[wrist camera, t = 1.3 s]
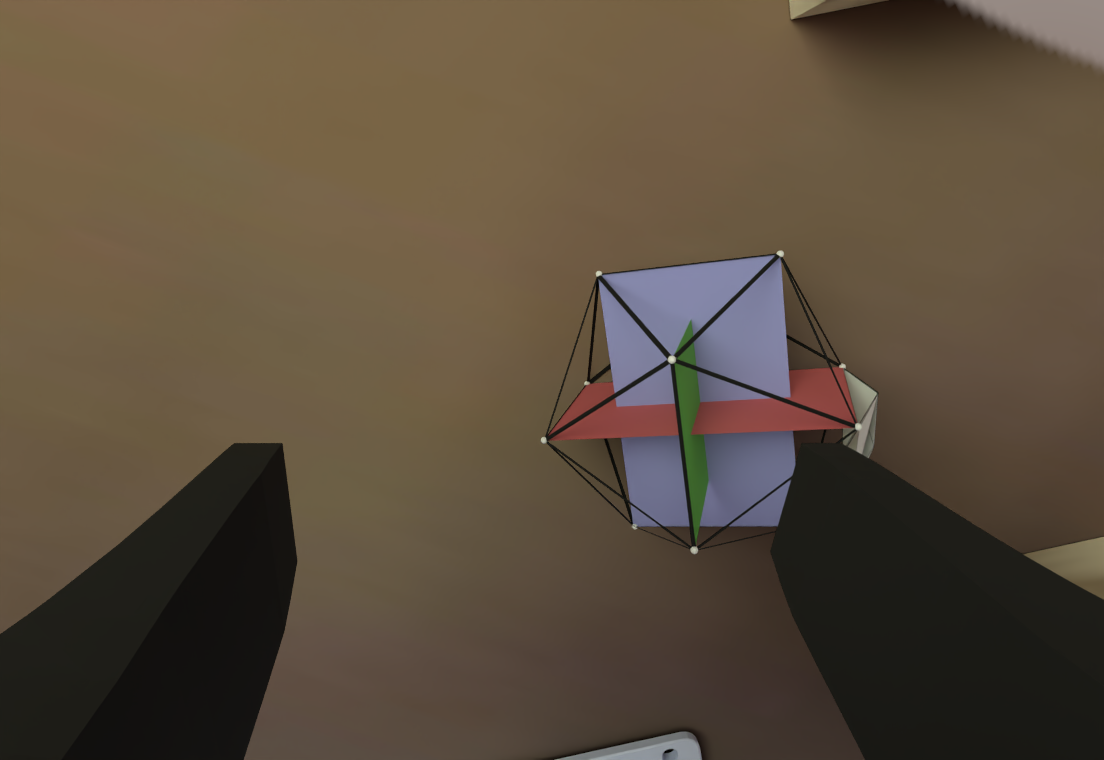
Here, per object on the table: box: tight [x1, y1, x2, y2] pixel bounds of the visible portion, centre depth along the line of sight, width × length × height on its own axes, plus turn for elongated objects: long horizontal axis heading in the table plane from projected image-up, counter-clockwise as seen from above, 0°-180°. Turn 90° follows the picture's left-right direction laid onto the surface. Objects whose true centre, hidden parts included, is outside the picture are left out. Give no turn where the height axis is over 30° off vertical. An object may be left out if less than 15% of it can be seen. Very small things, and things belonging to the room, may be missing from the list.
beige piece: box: [789, 0, 1104, 599], centre depth 19 cm, size 13×19×4 cm, turn 11°
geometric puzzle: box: [541, 251, 878, 554], centre depth 18 cm, size 7×7×8 cm
